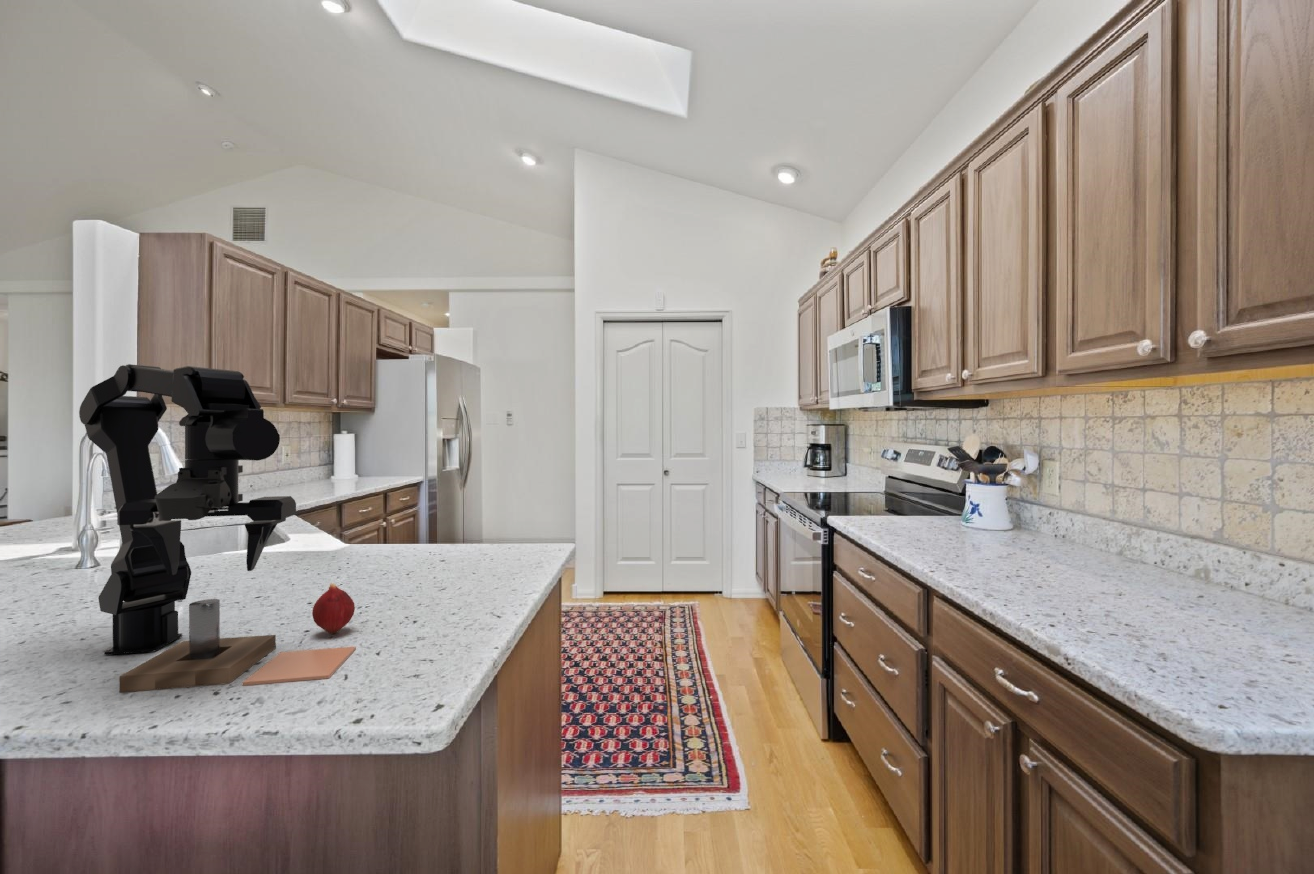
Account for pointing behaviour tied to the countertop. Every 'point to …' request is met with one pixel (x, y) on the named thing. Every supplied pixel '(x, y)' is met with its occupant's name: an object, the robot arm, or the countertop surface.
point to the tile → (301, 666)
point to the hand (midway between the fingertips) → (212, 572)
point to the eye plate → (197, 665)
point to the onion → (333, 609)
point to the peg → (204, 629)
